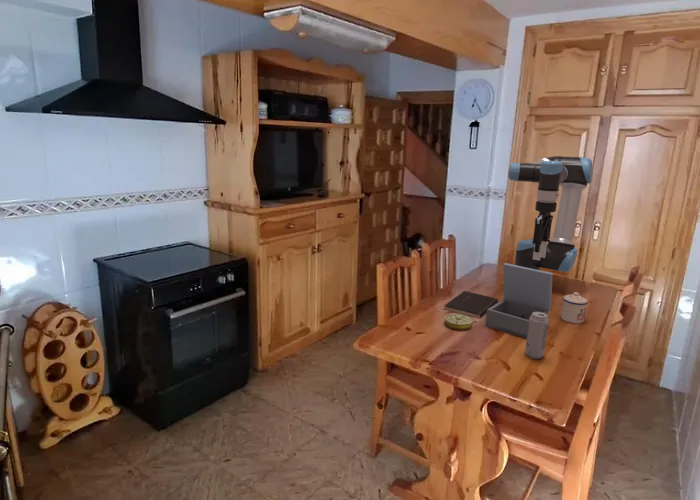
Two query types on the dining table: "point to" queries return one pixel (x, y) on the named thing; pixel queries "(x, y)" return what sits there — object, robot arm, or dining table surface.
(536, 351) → the energy drink can
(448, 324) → the olive round disc
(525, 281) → the gray box lid
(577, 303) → the teacup with lid
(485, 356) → the dining table surface
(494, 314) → the grey hinged box
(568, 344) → the dining table surface
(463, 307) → the hardcover book
